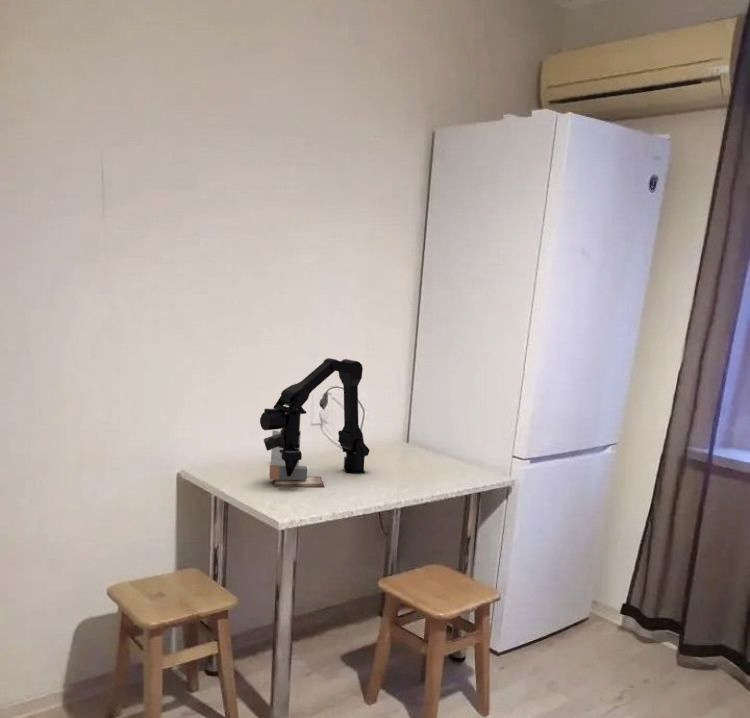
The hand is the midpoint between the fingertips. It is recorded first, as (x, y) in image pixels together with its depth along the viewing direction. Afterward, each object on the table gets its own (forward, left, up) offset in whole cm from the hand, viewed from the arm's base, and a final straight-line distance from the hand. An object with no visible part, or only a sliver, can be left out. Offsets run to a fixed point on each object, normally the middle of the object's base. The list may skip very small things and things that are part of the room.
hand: (288, 474), depth 233 cm
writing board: (-3, 0, -3) cm, 4 cm away
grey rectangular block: (0, 0, -1) cm, 1 cm away
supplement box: (0, -22, -3) cm, 22 cm away
